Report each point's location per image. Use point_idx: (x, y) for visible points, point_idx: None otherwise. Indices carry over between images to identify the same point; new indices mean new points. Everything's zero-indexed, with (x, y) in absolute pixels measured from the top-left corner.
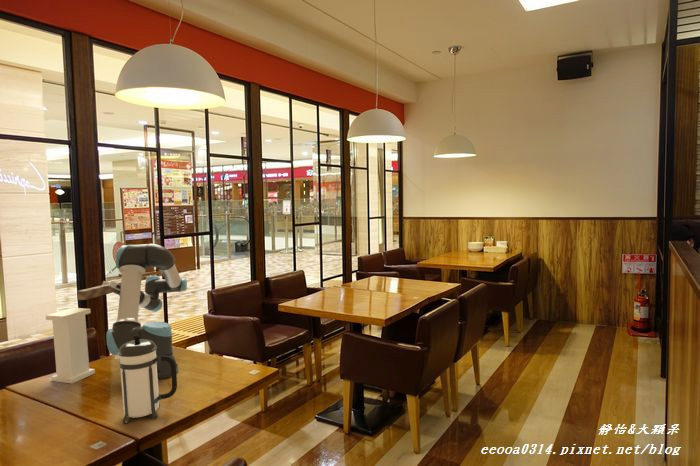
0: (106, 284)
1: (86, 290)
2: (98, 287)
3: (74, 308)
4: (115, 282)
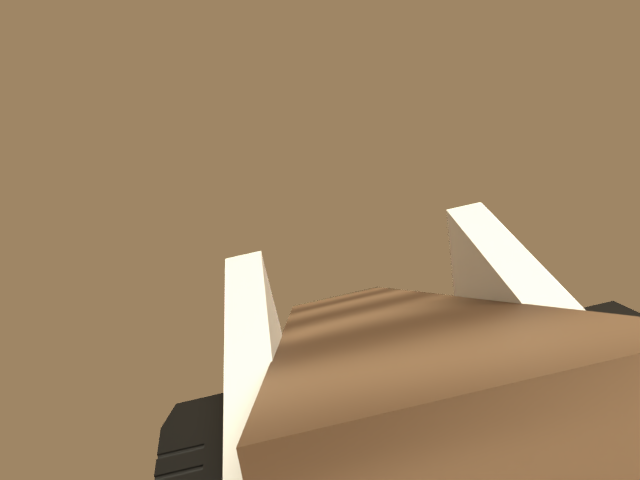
0: (450, 303)
1: (302, 305)
2: (315, 312)
3: None
4: (539, 327)
